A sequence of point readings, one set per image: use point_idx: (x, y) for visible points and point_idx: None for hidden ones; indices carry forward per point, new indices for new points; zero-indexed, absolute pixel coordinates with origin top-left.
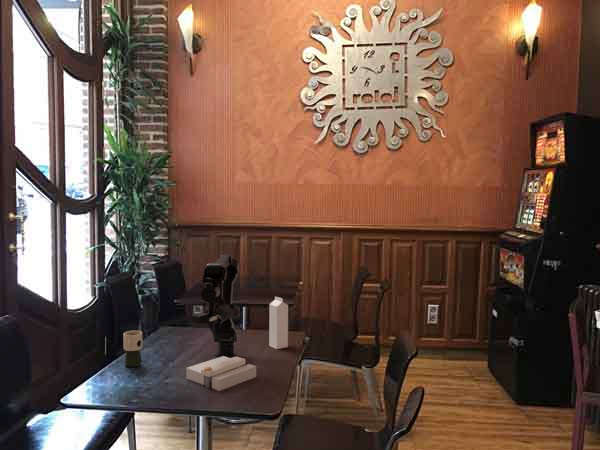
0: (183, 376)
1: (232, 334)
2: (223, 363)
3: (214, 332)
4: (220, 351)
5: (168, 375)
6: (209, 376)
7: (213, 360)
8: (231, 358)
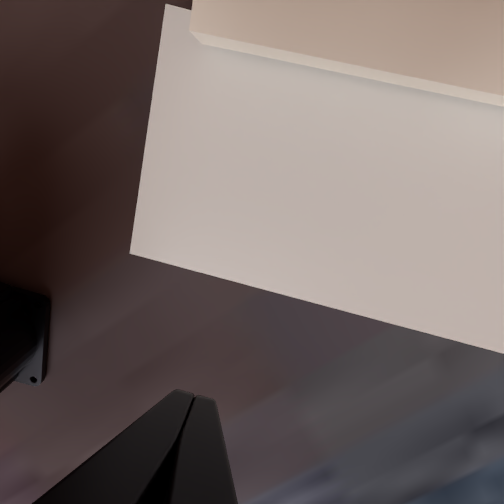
0: (448, 351)
1: None
2: (484, 9)
3: (229, 494)
4: (15, 360)
5: (463, 432)
6: None
7: (268, 266)
8: (275, 35)
